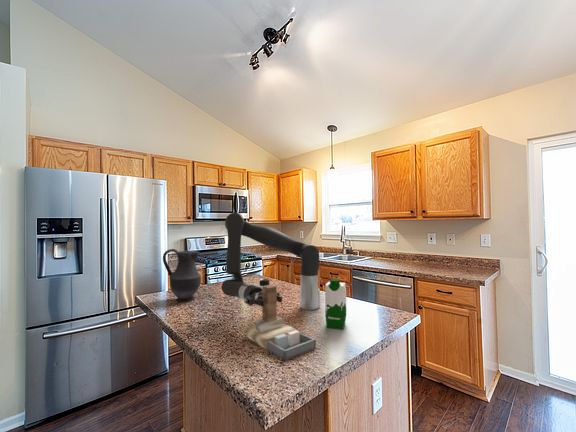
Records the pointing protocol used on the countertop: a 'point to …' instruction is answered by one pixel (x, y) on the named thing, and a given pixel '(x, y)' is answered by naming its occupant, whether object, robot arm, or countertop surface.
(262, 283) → the medicine bottle
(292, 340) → the tile
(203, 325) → the countertop surface
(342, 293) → the milk carton
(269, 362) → the countertop surface
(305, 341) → the tray
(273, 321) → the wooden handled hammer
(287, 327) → the light wood board
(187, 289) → the pitcher
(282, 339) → the tile
